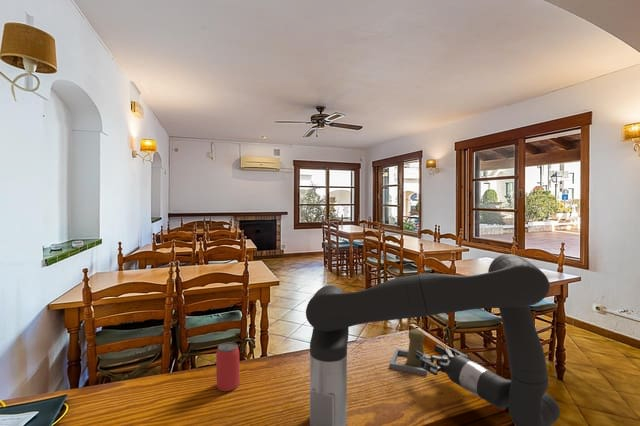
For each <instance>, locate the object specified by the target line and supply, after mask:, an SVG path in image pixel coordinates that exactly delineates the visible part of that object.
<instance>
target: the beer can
mask: <svg viewBox="0 0 640 426" xmlns="http://www.w3.org/2000/svg"><path fill="white" fill-rule="evenodd" d="M215 355H216V356H215V357H216V358H215V360H216V361H215V365H216V371H215V372H216V375H215V376H216V388H217V390H219V391H221V392H231V391H233V390H235V389H237V388H238V386H239V385H240V350H239V346H238V344H237V342H234V341H233V342H232V341H231V342H230V341H228V342H223V343H221V344H220V345H218V346H217V350H216V353H215Z"/></svg>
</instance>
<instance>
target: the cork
mask: <svg viewBox="0 0 640 426" xmlns="http://www.w3.org/2000/svg"><path fill="white" fill-rule="evenodd" d="M408 339H409V344H408V350H407V351H408V356H406V363H407V365H408V366H413V367H418V368H421V367H420V360H418V359H416V358H415V351H416V350H418V351H419V352H421V353H423V354H425V351H424V344H423V343H424V341H425V333H424V332H423V331H422V330H420V329H415V328H413V329H410V330H409V331H408Z"/></svg>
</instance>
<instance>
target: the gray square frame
mask: <svg viewBox="0 0 640 426" xmlns="http://www.w3.org/2000/svg"><path fill="white" fill-rule="evenodd" d="M424 355H426V356H430V353H429V354H427V353H424ZM398 356H406V357H408V350H405V349H401V348H400V349H399V348H395V350H394V352H393V354H392V356H391V357H392V358H391V360H390V363H389V368H390V369H393V370H399V371H404V372H408V373H412V374H418V375H421V376H422V375H423V376H428V371H426V370H425V369H423V368H421V367H413V366H411V365H409V364H407V365H406V364H402V363H398V362H397V359H398ZM427 360H428V361H430V360H429V359H427ZM425 366H426V365H425Z"/></svg>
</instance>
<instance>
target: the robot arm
mask: <svg viewBox="0 0 640 426" xmlns="http://www.w3.org/2000/svg"><path fill="white" fill-rule="evenodd" d="M550 286H551V285H550V281H549V279H548V277H547V276H546V274H545V273H544V272H543V271H542V270H541V269H540V268H539V267H537V266H536V265H535V264H533V263H531V261H528V260H527V259H525V258H523V257H522V256H520V255H517V254H511V253H508V254H507V253H504V254H501V255H499V256H497V257H496V258H494V259H493V260H492V261H491V262H490V264H489V267H488V271H487V272H485V273H479V274H473V275H457V274H446V273H445V274H444V273H434V272H433V273H432V272H431V273H429V272H428V273H426V272H425V273H418V274H412V275H405V276H400V277H397V278H392V279H389V280H386V281H384V282H382V283H378V284H376V285H374V286H372V287H369V288H366V289H362V290H359V291H352V292H351V291H350V292H344V290H342V289H341V288H340V287H338V286H336V285H330V284H329V285H325V286H323V287H321V288H319V289H318V290H317V291H316V292H315V293H314V295H313V296H312V297H311V298H310V300H308V302H307V305H306V309H305V317H306V320H307V322H308V324H309V325H310V326H311V327H312V333H311V338H310V342H309V426H347V423H348V343H349V327H350V328H351V327H353V326H357V325H362V324H367V323H368V324H369V323H376V322H386V321H388V322H389V321H396V320H402V319H403V320H404V319H413V318H414V319H415V318H422V317H429V316H435V315H440V314H448V313H457V312H458V313H459V312H464V311H471V310H478V309H479V310H481V309H498V310H499V313H500V317H501V321H502V327H503V331H504V332H503V333H504V338H505V344H506V351H507V359H508V366H509V371H510V372H509V373H510V376H511V378H510V379H507V378H504V377H502V376H500V375H498V374H497V373H494V372H493V371H490V370H489V369H488V368H486V367H484V366H483V365H481V364H479V363H477V362H475V361H473V360H471V359H469V358H468V356H469V355H467V354H465V353H464V352H461V351H459V350H457V349H456V348H450V349H449V348H445V347H442V346H440V345H439V344H435V345H434V352H435V353H437V354H439V355H441V356H439V355H433V354H432V355H431V356H430V355H429V356H426V355H424V354H425V353H424V354H423V353H421V352H419V351H418V350H416V351H415V358H416V359H418V360H420V367H419V368H423V369H425V370H426V371H427V373H430V374H432V375H433V376H438V372H442V373H445V374H446V375H447V378H448V379H449V380H450V381H451V382H453V384H456V385H458V386H460V387H461V388H462V389H465V390H466V391H468V392H469V393H471V394H473V395H474V396H476V397H479V398H481V399H482V400H484V401H486V402H487V403H489V404H491V405H492V406H493V407H496V408H497V409H505V408H508V412H509V416H510V419H511V420H512V422H513V424H514V425H515V426H553V425H554V423H556V422H557V421H558V420H559V418H560V416H561V410H560V407H559V404H558V402H557V401H556V400H555V399H554V398H553V397H552V396H551V395H550V394H549V393H547V392H546V391H547V390H548V388H549V375H548V368H547V361H546V355H545V352H544V348H543V344H542V342H541V339H540V336H539V334H538V332H537V327H536V325H535V323H534V319H533V315H532V311H531V306H534V305H537V304H538V303H540V302H542V301H543V300H545V298H546V297H547V296H548V293H549V292H550ZM427 359H429V361H428V360H427ZM435 360H436V361H435ZM425 365H426V366H425Z"/></svg>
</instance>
